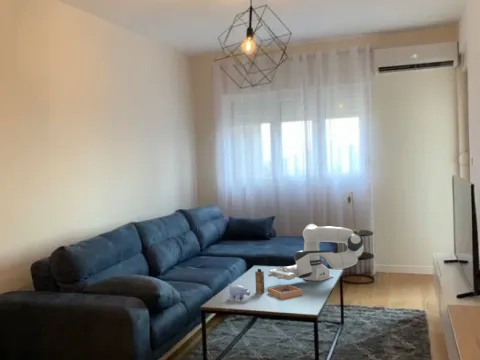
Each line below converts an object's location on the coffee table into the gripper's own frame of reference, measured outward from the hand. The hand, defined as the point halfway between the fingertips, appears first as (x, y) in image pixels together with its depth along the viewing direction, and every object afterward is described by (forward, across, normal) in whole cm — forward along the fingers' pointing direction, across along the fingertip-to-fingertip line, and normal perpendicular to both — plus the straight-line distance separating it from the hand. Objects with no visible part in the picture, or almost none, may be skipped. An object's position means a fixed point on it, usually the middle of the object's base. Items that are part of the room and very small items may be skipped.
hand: (273, 276), depth 327 cm
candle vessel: (+4, -15, -8) cm, 17 cm away
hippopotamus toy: (+31, -2, -9) cm, 33 cm away
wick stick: (+12, 0, -8) cm, 15 cm away
